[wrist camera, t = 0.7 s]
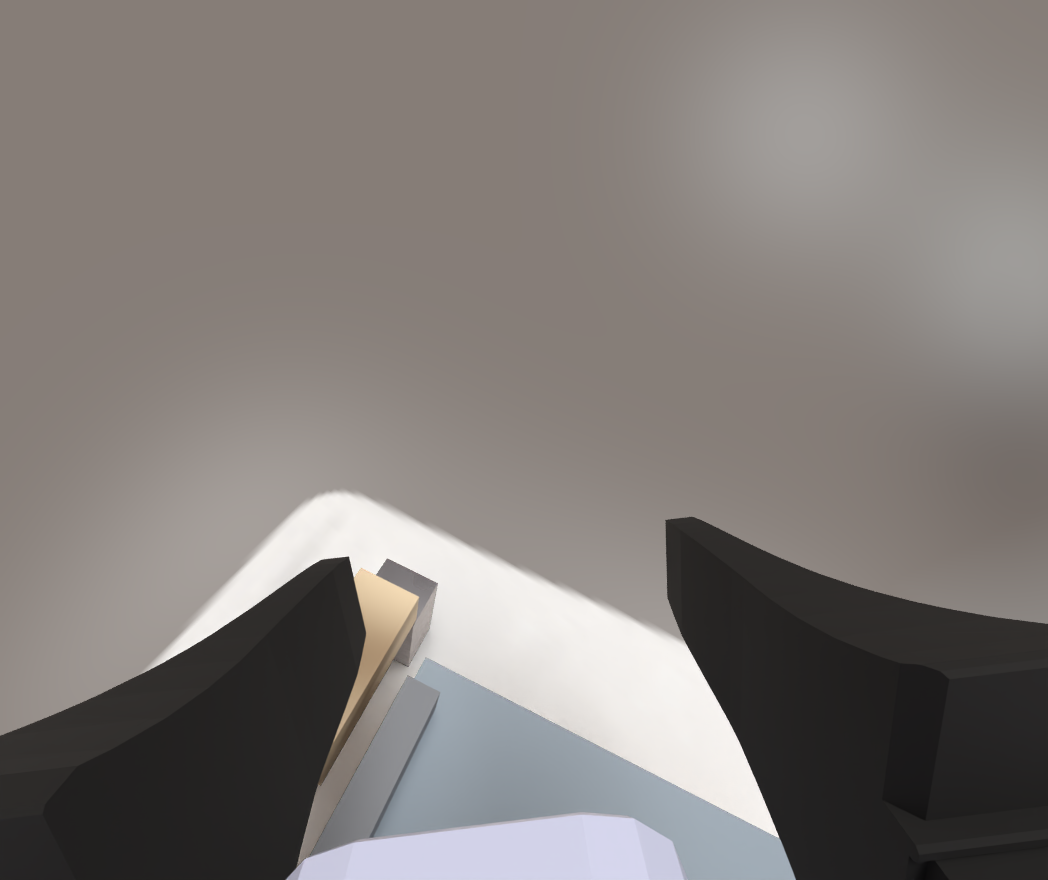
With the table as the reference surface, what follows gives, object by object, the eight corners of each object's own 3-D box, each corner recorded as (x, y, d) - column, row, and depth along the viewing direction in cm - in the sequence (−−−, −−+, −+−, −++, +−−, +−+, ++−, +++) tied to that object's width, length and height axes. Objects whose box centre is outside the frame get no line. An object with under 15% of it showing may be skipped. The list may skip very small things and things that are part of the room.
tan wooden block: (320, 786, 17) (313, 775, 15) (255, 750, 17) (242, 736, 15) (416, 619, 21) (419, 596, 19) (362, 592, 21) (361, 568, 19)
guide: (408, 666, 25) (413, 626, 21) (363, 643, 25) (359, 599, 21) (429, 628, 26) (437, 583, 22) (386, 606, 26) (387, 558, 22)
